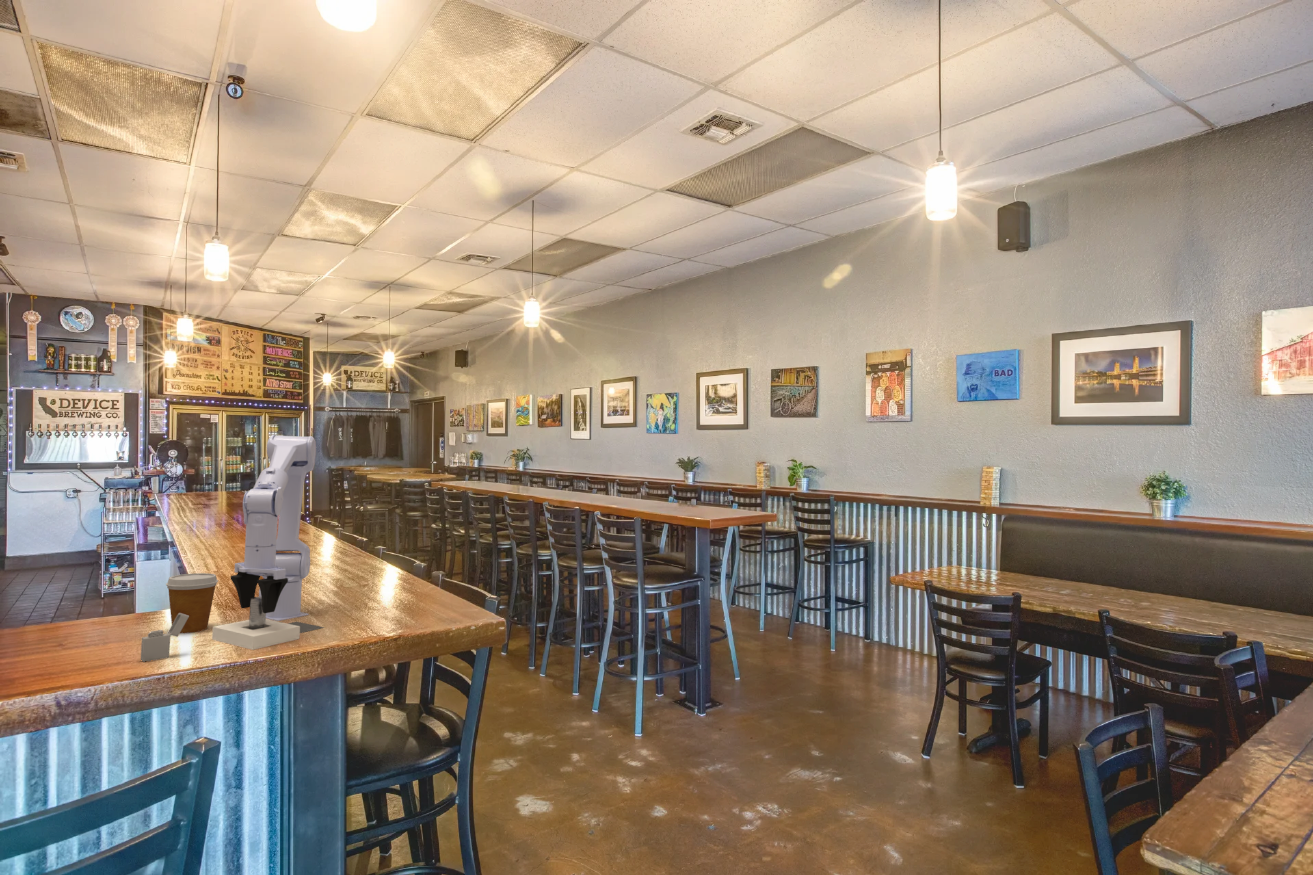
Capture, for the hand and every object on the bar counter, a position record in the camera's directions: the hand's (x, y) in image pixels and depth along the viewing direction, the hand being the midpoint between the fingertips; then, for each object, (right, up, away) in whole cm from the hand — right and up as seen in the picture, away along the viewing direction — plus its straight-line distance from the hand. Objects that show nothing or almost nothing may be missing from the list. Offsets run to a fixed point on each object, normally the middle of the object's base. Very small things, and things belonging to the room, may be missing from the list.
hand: (257, 609), depth 142 cm
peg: (0, -7, 0) cm, 7 cm away
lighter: (-10, -6, -13) cm, 18 cm away
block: (0, -7, 0) cm, 7 cm away
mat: (+3, -7, +9) cm, 12 cm away
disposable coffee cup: (-18, -6, +6) cm, 20 cm away
